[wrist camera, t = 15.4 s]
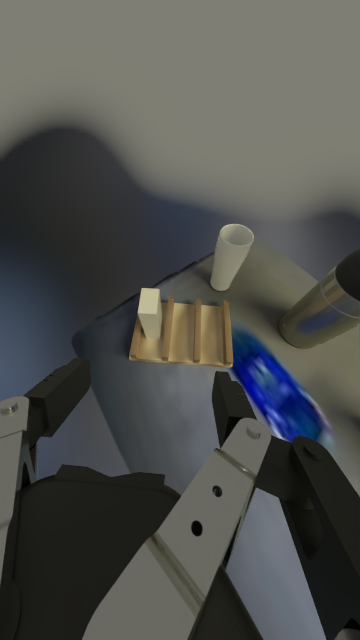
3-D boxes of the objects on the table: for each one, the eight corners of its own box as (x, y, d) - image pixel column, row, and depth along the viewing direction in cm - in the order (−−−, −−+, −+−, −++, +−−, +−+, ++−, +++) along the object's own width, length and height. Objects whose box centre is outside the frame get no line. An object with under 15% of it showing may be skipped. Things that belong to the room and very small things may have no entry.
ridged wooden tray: (227, 310, 45) (231, 301, 42) (230, 367, 39) (236, 362, 35) (141, 304, 45) (138, 294, 42) (130, 360, 39) (126, 354, 35)
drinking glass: (213, 270, 51) (228, 219, 38) (236, 281, 50) (259, 231, 36) (202, 287, 48) (213, 237, 35) (226, 298, 47) (247, 251, 34)
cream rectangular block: (162, 319, 42) (159, 289, 32) (160, 339, 39) (156, 314, 30) (149, 318, 42) (141, 288, 32) (146, 338, 39) (137, 313, 30)
